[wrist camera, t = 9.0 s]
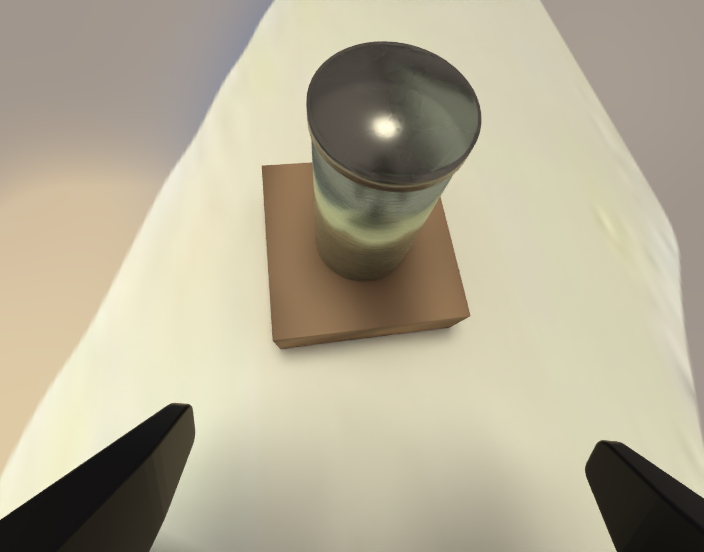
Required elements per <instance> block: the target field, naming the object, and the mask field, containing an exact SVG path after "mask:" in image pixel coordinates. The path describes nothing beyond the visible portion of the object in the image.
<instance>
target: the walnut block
mask: <svg viewBox="0 0 704 552" xmlns="http://www.w3.org/2000/svg"><path fill="white" fill-rule="evenodd" d="M262 177H263V193H264V209H265V225H266V241H267V257H268V273H269V289H270V304H271V320H272V336H273V341H274V342H275V344H276V345H277V346H278V347H279V348H280V349H282V348H289V347H297V346H305V345H313V344H321V343H329V342H337V341H345V340H352V339H360V338H368V337H376V336H384V335H392V334H400V333H408V332H416V331H423V330H431V329H439V328H447V327H451V326H453V325H455V324H457V323H459V322H460V321H462V320H464V319H466V318H468V317H470V312H469V308H468V304H467V300H466V296H465V292H464V288H463V284H462V280H461V276H460V273H459V269H458V265H457V261H456V257H455V253H454V249H453V245H452V241H451V237H450V233H449V229H448V225H447V221H446V217H445V213H444V209H443V205H442V201H441V197H440V198H439V200H438V201H437V203H436V205H435V206H434V208H433V210H432V211H431V213H430V215H429V216H428V218H427V220H426V222H425V223H424V225H423V227H422V228H421V230H420V232H419V233H418V235H417V237H416V239H415V240H414V242H413V244H412V245H411V247H410V249H409V250H408V252H407V254H406V256H405V257H404V259H403V261H402V262H401V264H400V265H399V266H398V268H397V269H395V270H394V271H393V272H392V273H391V274H389V275H388V276H386V277H384V278H381V279H379V280H375V281H368V282H359V281H353V280H349V279H346V278H344V277H341V276H340V275H338V274H336V273H335V272H333V271H332V270H331V269H330V268H329V267H328V266H327V265H326V264H325V263H324V261H323V260H322V258H321V257H320V255H319V252H318V249H317V246H316V234H315V211H314V187H313V164H312V163H298V164H282V165H266V166H262Z"/></svg>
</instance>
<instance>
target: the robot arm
mask: <svg viewBox="0 0 704 552" xmlns="http://www.w3.org/2000/svg"><path fill="white" fill-rule="evenodd" d="M194 439H195V424H194V416H193V409H192V406H191V405H189V404H182V403H171V404H169V405H167V406H166V407H164V408H163V409H161V410H160V411H159V412H157V413H156V414H154V415H153V416H151V417H150V418H148V419H147V420H145V421H144V422H142V423H141V424H140V425H138V426H137V427H135V428H134V429H132V430H131V431H129V432H128V433H126V434H125V435H123V436H122V437H121V438H119V439H118V440H116V441H115V442H113V443H112V444H110V445H109V446H107V447H106V448H104V449H103V450H102V451H100V452H99V453H97V454H96V455H94V456H93V457H91V458H90V459H88V460H87V461H85V462H84V463H83V464H81V465H80V466H78V467H77V468H75V469H74V470H72V471H71V472H69V473H68V474H67V475H65V476H64V477H62V478H61V479H59V480H58V481H56V482H55V483H53V484H52V485H50V486H49V487H48V488H46V489H45V490H43V491H42V492H40V493H39V494H37V495H36V496H34V497H33V498H31V499H30V500H29V501H27V502H26V503H24V504H23V505H21V506H20V507H18V508H17V509H15V510H14V511H12V512H11V513H10V514H8V515H7V516H5V517H4V518H2V519H1V520H0V552H149V551H150V549H151V547H152V545H153V542H154V540H155V538H156V536H157V534H158V532H159V530H160V528H161V526H162V523H163V521H164V519H165V517H166V514H167V512H168V509H169V507H170V504H171V501H172V499H173V496H174V493H175V491H176V488H177V485H178V483H179V480H180V477H181V475H182V472H183V469H184V467H185V464H186V462H187V459H188V456H189V454H190V451H191V448H192V446H193V443H194ZM585 473H586V477H587V480H588V482H589V485H590V487H591V490H592V492H593V495H594V497H595V500H596V502H597V505H598V507H599V509H600V512H601V514H602V517H603V519H604V522H605V524H606V527H607V529H608V532H609V534H610V537H611V539H612V542H613V544H614V546H615V548H616V551H617V552H704V498H702V497H701V496H699V495H698V494H696V493H695V492H694V491H692V490H691V489H689V488H688V487H686V486H685V485H683V484H682V483H680V482H679V481H677V480H676V479H674V478H673V477H672V476H670V475H669V474H667V473H666V472H664V471H663V470H661V469H660V468H658V467H657V466H655V465H654V464H652V463H651V462H650V461H648V460H647V459H645V458H644V457H642V456H641V455H639V454H638V453H636V452H635V451H633V450H632V449H630V448H629V447H628V446H626V445H625V444H623V443H621V442H617V441H606V440H601V441H599V442H598V443H597V444H596V446H595V448H594V449H593V451H592V453H591V455H590V457H589V459H588V461H587V463H586V466H585Z"/></svg>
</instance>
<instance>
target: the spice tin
mask: <svg viewBox="0 0 704 552" xmlns="http://www.w3.org/2000/svg"><path fill="white" fill-rule="evenodd" d="M306 105H307V121H308V129H309V133H310V136H311V140H312V164H313V187H314V211H315V234H316V246H317V249H318V252H319V255H320V257H321V258H322V260H323V261H324V263H325V264H326V265H327V266H328V267H329V268H330V269H331V270H332V271H333V272H335V273H336V274H338V275H340V276H341V277H344V278H346V279H349V280H353V281H359V282H368V281H375V280H379V279H381V278H384V277H386V276H388V275H389V274H391V273H392V272H393V271H394V270H395V269H397V268H398V266H399V265H400V264H401V262H402V261H403V259H404V257H405V256H406V254H407V252H408V250H409V249H410V247H411V245H412V244H413V242H414V240H415V239H416V237H417V235H418V233H419V232H420V230H421V228H422V227H423V225H424V223H425V222H426V220H427V218H428V216H429V215H430V213H431V211H432V210H433V208H434V206H435V205H436V203H437V201H438V200H439V198H440V196H441V194H442V193H443V191H444V189H445V188H446V186H447V184H448V183H449V181H450V179H451V177H452V176H453V174H454V173H455V172H456V171H458V170H459V168H460V167H461V166H462V165H463V163H464V162H465V160H466V159H467V157H468V155H469V154H470V152H471V150H472V149H473V147H474V145H475V143H476V141H477V139H478V136H479V133H480V128H481V110H480V105H479V102H478V99H477V96H476V94H475V92H474V90H473V88H472V87H471V85H470V84H469V82H468V81H467V80H466V78H465V77H464V76H463V75H462V74H461V73H460V72H459V71H458V70H457V69H456V68H455V67H454V66H452V65H451V64H450V63H448V62H447V61H446V60H444V59H443V58H441V57H439V56H438V55H436V54H434V53H432V52H429V51H427V50H425V49H422V48H419V47H416V46H412V45H409V44H404V43H398V42H369V43H363V44H358V45H355V46H352V47H349V48H346V49H344V50H342V51H340V52H338V53H336V54H335V55H333V56H332V57H330V58H329V59H328V60H326V61H325V62H324V63H323V64H322V65H321V66H320V68H319V69H318V70H317V71H316V73H315V74H314V76H313V78H312V80H311V82H310V85H309V88H308V92H307V103H306Z"/></svg>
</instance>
